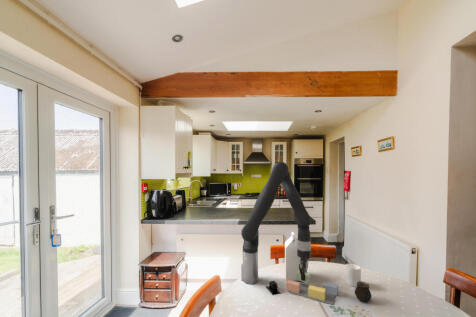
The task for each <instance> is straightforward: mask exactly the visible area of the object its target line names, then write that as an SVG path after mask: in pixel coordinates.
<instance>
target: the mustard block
mask: <svg viewBox="0 0 476 317" xmlns="http://www.w3.org/2000/svg"><path fill="white" fill-rule="evenodd" d="M308 285H309V287H308V296H309V297H313V298H316V299H320V300H324V301H325V298H326V289H324V288H323V287H320V286H317V285H313V284H308Z"/></svg>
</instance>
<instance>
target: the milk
mask: <svg viewBox="0 0 476 317" xmlns="http://www.w3.org/2000/svg"><path fill="white" fill-rule="evenodd" d="M297 241H298V237H296V236H295V232H294V231H291V236H290V237H289V238H288V239H287V240H286V241H285V242H284V269H285V270H284V271H285V272H284V273H285V281H287V280H291V281H296V282H301V281H300V280H298V279H296V276H297V271H298V270H299V264H300V260H301V258H300V257H298V256H297Z"/></svg>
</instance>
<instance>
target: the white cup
mask: <svg viewBox="0 0 476 317" xmlns="http://www.w3.org/2000/svg"><path fill="white" fill-rule="evenodd" d="M345 274H346V283H347V285H349V286H350V287H354V288H357V282H358V281H361V279H362V267H361V266H360V265H358V264H355V263H346V264H345Z"/></svg>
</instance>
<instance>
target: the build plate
mask: <svg viewBox="0 0 476 317" xmlns="http://www.w3.org/2000/svg"><path fill="white" fill-rule="evenodd" d="M265 289H267V291H268V292H269V293H270V294H271V295H272V296H276V295H282V292H281V291H280V289H279V288H278V283H277V282H276V281H275V280H270V281H269V282H268V285H266V286H265Z"/></svg>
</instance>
